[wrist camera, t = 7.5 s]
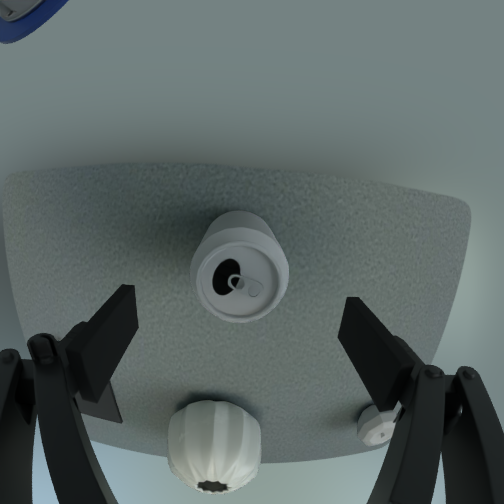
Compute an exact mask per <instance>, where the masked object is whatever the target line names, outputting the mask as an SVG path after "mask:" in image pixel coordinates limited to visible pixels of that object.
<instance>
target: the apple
mask: <svg viewBox="0 0 504 504" xmlns="http://www.w3.org/2000/svg"><path fill="white" fill-rule="evenodd" d="M396 416H397V415H396V413H395V412H394V411H393V410H390V411H385V412H380V413H379V411H378V409H377V407H376V405H371V406H370V407H368V408H366V409H365V410H364V411H363V412H362V414H361V416H360V418H359V420H358V424H357V436H358V437H359V438H360V440H361V441H362V442H363V443H365V444H366V445H367V446H373V445H378V444H382V443H383V442H385V441H387V440H388V439H390V438H391V437H392V434H393V431H394V427H395V424H396V422H395V423H393V421H394V419H395V418H396Z"/></svg>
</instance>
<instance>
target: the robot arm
mask: <svg viewBox="0 0 504 504" xmlns="http://www.w3.org/2000/svg"><path fill="white" fill-rule="evenodd" d="M45 1H46V0H0V17H1V18H3V19H4V20H5V21H7V22H11V23H12V22H17V21H19V20H21V19H23V18H25V17H26V16H28V15H29V14H31V13H32V12H33V11H35V10H36V9H37V8H38V7H40V6H41V5H42V4H43V3H44V2H45ZM138 328H139V326H138V318H137V308H136V298H135V285H125V284H122V285H121V286H120V287H119V288H118V289H117V290H116V291H115V293H114V294H113V295H112V296H111V297H110V298H109V299H108V300H107V301H106V302H105V303H104V304H103V306H102V307H101V308H100V309H99V310H98V311H97V312H96V313H95V314H94V316H93V317H92V318H91V319H90V320H89V321H88V322H83V321H82V322H81V323H79V324H77V325H75V326H74V327H73V328H72V329H71V330H70V331H69V333H68V334H67V335H66V336H65V337H64V338H63V339H62V340H61V341H60V343H59V344H58V345H57V343H56V340H55V338H54V336H53V335H51V334H48V333H40V334H36V335H34V336H32V337H31V338H30V339H29V340H28V342H27V346H28V349H29V352H30V355H31V357H32V360H27V359H21V357H20V355H19V352H18V351H17V350H15V349H5V350H2V351H1V352H0V504H33V503H32V460H33V445H34V435H35V426H36V418H37V415H38V421H39V428H40V433H41V439H42V444H43V448H44V453H45V457H46V461H47V465H48V469H49V473H50V476H51V480H52V483H53V486H54V490H55V493H56V495H57V499H58V501H59V504H118V502H117V500H116V499H115V497H114V495H113V493H112V491H111V489H110V487H109V485H108V483H107V480H106V478H105V476H104V474H103V472H102V469H101V467H100V465H99V463H98V460H97V458H96V455H95V453H94V450H93V448H92V445H91V442H90V440H89V437H88V434H87V431H86V428H85V425H84V422H83V419H82V416H81V413H80V410H79V406H78V403H77V400H76V398H75V395H76V394H77V392H78V390H79V393H80V395H81V398H82V400H85V401H89V402H92V403H96V404H97V403H98V401H99V399H100V397H101V396H102V394H103V392H104V390H105V388H106V386H107V384H108V382H109V380H110V378H111V376H112V375H113V373H114V371H115V369H116V367H117V365H118V364H119V362H120V360H121V358H122V356H123V354H124V353H125V351H126V349H127V347H128V346H129V344H130V342H131V340H132V338H133V337H134V335H135V333H136V331H137V330H138ZM338 339H339V341H340V342H341V344H342V346H343V348H344V349H345V351H346V353H347V355H348V356H349V358H350V360H351V362H352V364H353V365H354V367H355V369H356V371H357V372H358V374H359V376H360V378H361V380H362V381H363V383H364V385H365V387H366V389H367V390H368V392H369V394H370V396H371V398H372V400H373V401H374V403H375V405H376V407H377V409H378V411H379V413H380V412H385V411H390V410H394V408H395V406H396V404H397V402H398V400H399V402H400V403H401V405H402V407H401V409H400V410H399V412H398V414H397V416H396V418H395V419H394V421H393V423H395V422H396V424H395V427H394V431H393V434H392V438H391V441H390V444H389V447H388V451H387V454H386V456H385V459H384V462H383V465H382V468H381V470H380V473H379V475H378V479H377V481H376V483H375V486H374V488H373V490H372V493H371V495H370V498H369V500H368V502H367V504H431V501H432V497H433V493H434V488H435V483H436V478H437V473H438V466H439V460H440V454H441V453H442V461H443V470H444V479H445V493H446V504H504V433H503V430H502V427H501V424H500V422H499V419H498V417H497V414H496V411H495V409H494V407H493V404H492V402H491V399H490V397H489V395H488V393H487V391H486V388H485V386H484V384H483V382H482V380H481V377H480V375H479V374H478V372H477V371H476V370H474V369H473V368H471V367H467V366H461V367H460V368H459V369H458V370H457V372H456V374H455V375H445V374H444V372H443V371H442V370H441V369H440V368H438V367H437V366H434V365H425V364H424V363H423V362H422V360H421V359H420V358H419V357H418V356H417V355H416V353H415V352H413V350H412V349H411V348H410V347H409V346H408V344H407V343H406V342H405V341H404V340H403V339H401V338H399V337H398V336H393V335H392V334H391V333H390V332H389V331H388V329H387V328H386V327H385V326H384V325H383V324H382V323H381V322H380V320H379V319H378V318H377V317H376V316H375V315H374V314H373V313H372V311H371V310H370V309H369V308H368V307H367V306H366V305H365V304H364V303H363V301H362V300H361V299H360V298H359V297H347V299H346V303H345V308H344V312H343V317H342V321H341V325H340V329H339V333H338ZM461 410H462V414H461Z"/></svg>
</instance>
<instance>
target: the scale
mask: <svg viewBox="0 0 504 504" xmlns="http://www.w3.org/2000/svg"><path fill="white" fill-rule="evenodd" d="M56 343H57V345H58V344H59V343H60V342H57V341H56ZM75 398H76V400H77V403H78V406H79V410H80V413H83V414H87V415H90V416H94V417H97V418H101V419H105V420H109V421H113V422H117V423H121V424H122V422H123V421H122V418H121V416H120V413H119V410H118V407H117V403H116V400H115V397H114V394H113V391H112V387H111V384H110V380H109V382H108V384H107V386H106V388H105V390H104V392H103V394H102V396H101V397H100V399H99V401H98V403H97V404H96V403H92V402H89V401H85V400H82V398H81V395H80V393H79V390H78V392H77V394H76V395H75Z"/></svg>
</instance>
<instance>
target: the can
mask: <svg viewBox="0 0 504 504" xmlns="http://www.w3.org/2000/svg"><path fill="white" fill-rule="evenodd" d="M189 275H190V281H191V287H192V290H193V292H194V294H195V295H196V297H197V299H198V301H199V302H200V303H201V304H202V305H203V306H204V307H205V308H206V309H207V310H208V311H209V312H210V313H211V314H212V315H214V316H216V317H218V318H220V319H222V320H224V321H229V322H234V323H244V322H251V321H254V320H257V319H259V318H262V317H263V316H265V315H266V314H267V313H269V312H270V311H271V310H272V309H273V308H274V307H275V306H276V305H277V304H278V303H279V301H280V300H281V298H282V297H283V295H284V294H285V292H286V288H287V285H288V281H289V266H288V262H287V260H286V257H285V255H284V252H283V250H282V248H281V247H280V245H279V243H278V241H277V240H276V238H275V236H274V234H273V233H272V231H271V229H270V227H269V226H268V225H267V224H266V223H265V221H264V220H263V219H262V218H260V217H259V216H257V215H255V214H254V213H251V212H247V211H242V210H239V211H230V212H227V213H225V214H223V215H220V216H219V217H218V218H217V219H215V220H214V221H213V222H212V223H211V224H210V226H209V228H208V230H207V232H206V233H205V235H204V237H203V239H202V241H201V243H200V245H199V247H198V248H197V250H196V252H195V254H194V256H193V258H192V261H191V267H190V273H189Z"/></svg>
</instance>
